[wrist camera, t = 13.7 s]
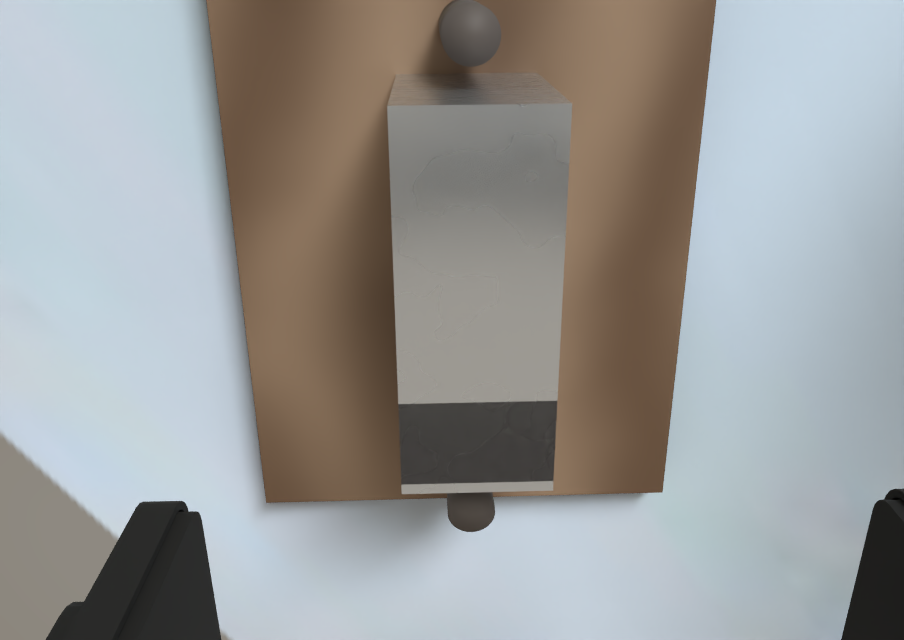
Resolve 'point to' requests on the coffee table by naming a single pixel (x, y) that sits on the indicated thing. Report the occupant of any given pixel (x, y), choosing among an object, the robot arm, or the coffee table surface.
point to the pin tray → (370, 227)
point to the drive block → (478, 277)
